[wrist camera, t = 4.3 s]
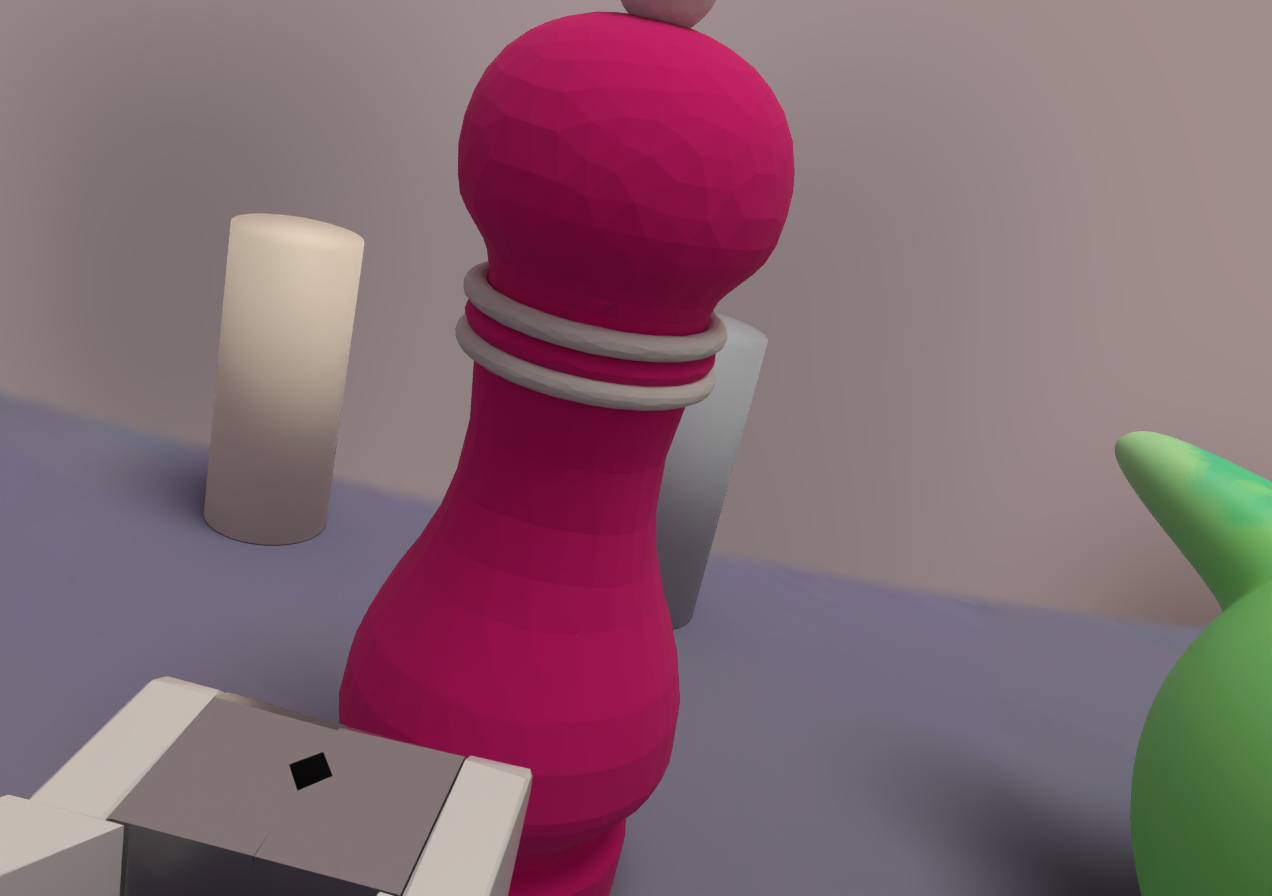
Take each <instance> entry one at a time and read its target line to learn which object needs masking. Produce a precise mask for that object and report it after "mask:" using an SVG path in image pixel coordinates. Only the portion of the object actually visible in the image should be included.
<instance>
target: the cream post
mask: <svg viewBox="0 0 1272 896" xmlns="http://www.w3.org/2000/svg"><path fill="white" fill-rule="evenodd" d="M363 250H364V240H363V239H362V237H360V236H359V235H357V234H356V233H354V232H352V231H349V230H347V229H344V228H342V227H339V226H336V225H332V224H329V223H325V222H321V221H317V220H312V219H307V218H302V217H295V216H288V215H279V214H245V215H239V216H236V217H234V218H232V220H231V225H230V236H229V246H228V257H227V268H226V280H225V289H224V300H223V311H222V323H221V333H220V343H219V355H218V365H217V376H216V386H215V397H214V409H213V419H212V430H211V440H210V451H209V462H208V472H207V483H206V494H205V505H204V518H205V520H206V522H207V523H208V525H209V526H210V527H212V528H213V529H214V530H216V531H217V532H219V533H221V534H223V535H225V536H227V537H230V538H232V539H236V540H239V541H243V542H247V543H254V544H262V545H284V544H293V543H298V542H302V541H305V540H308V539H311V538H313V537H315V536H316V535H318V534H319V533H321V532H322V531H323V529H324V528H325V525H326V519H327V512H328V505H329V498H330V490H331V483H332V476H333V468H334V461H335V454H336V447H337V439H338V431H339V424H340V417H341V410H342V402H343V395H344V388H345V380H346V373H347V366H348V359H349V352H350V344H351V337H352V330H353V322H354V315H355V307H356V300H357V293H358V286H359V279H360V272H361V264H362V257H363Z"/></svg>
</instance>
